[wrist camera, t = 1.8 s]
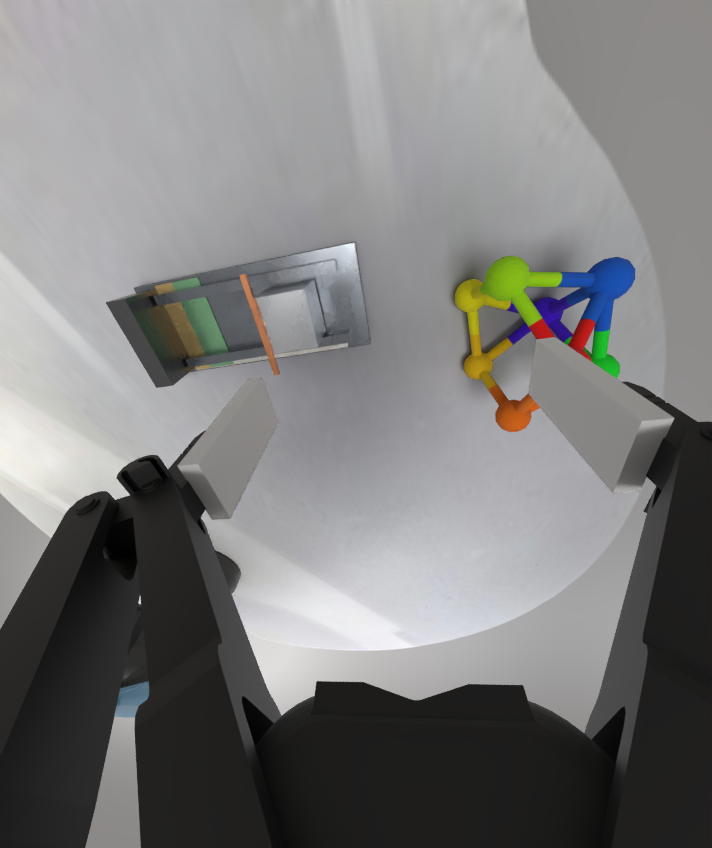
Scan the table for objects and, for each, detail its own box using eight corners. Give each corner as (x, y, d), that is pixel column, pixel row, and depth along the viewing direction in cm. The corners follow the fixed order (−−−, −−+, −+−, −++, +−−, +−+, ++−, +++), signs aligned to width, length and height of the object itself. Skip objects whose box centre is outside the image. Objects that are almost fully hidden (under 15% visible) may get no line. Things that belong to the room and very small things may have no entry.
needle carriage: (288, 354, 35) (274, 375, 30) (260, 266, 30) (239, 275, 26) (330, 348, 34) (322, 368, 30) (309, 257, 29) (296, 264, 25)
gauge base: (184, 369, 39) (154, 392, 34) (140, 285, 34) (97, 297, 28) (370, 340, 35) (369, 361, 30) (355, 241, 30) (350, 246, 25)
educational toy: (579, 337, 35) (689, 418, 23) (467, 383, 39) (512, 471, 27) (564, 186, 26) (725, 193, 15) (423, 265, 30) (461, 319, 19)
